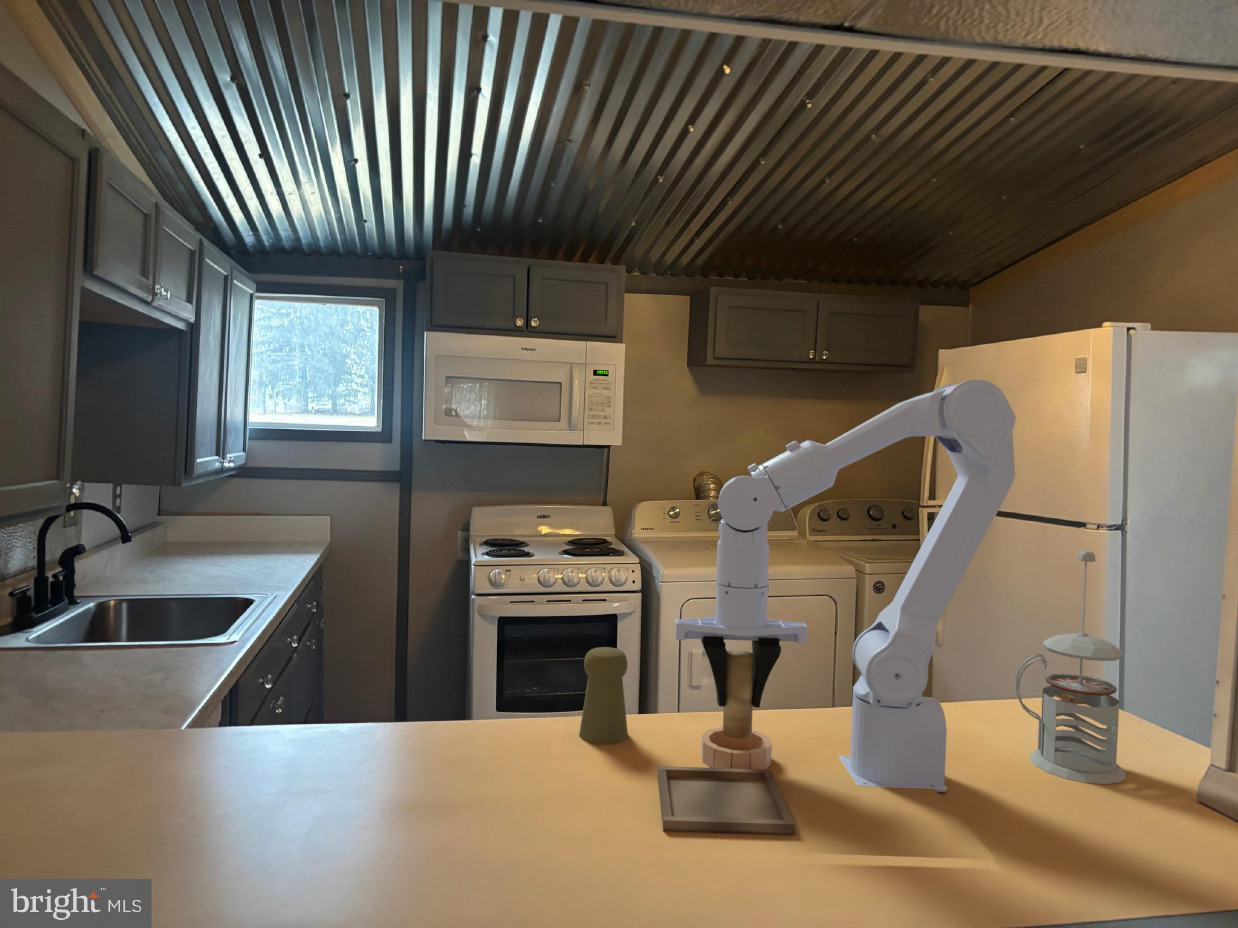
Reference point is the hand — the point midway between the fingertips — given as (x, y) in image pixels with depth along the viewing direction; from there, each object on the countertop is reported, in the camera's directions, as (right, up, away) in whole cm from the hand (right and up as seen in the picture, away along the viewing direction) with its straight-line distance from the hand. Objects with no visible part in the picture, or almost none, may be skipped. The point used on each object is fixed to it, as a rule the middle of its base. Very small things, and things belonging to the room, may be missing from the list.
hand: (738, 704), depth 90 cm
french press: (+39, -8, +3) cm, 40 cm away
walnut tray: (-3, -7, -11) cm, 13 cm away
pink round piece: (0, -7, 0) cm, 7 cm away
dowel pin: (0, -3, 0) cm, 3 cm away
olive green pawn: (-15, -6, +6) cm, 18 cm away
